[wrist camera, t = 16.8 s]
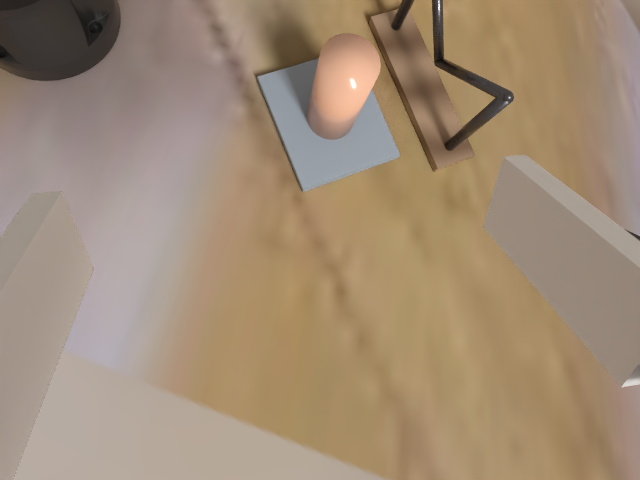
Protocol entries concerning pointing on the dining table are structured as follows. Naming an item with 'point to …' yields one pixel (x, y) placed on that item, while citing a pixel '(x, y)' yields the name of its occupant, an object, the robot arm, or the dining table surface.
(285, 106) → the pad
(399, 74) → the wire base
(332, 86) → the peach rounded cylinder
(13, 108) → the dining table surface
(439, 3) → the bent wire
